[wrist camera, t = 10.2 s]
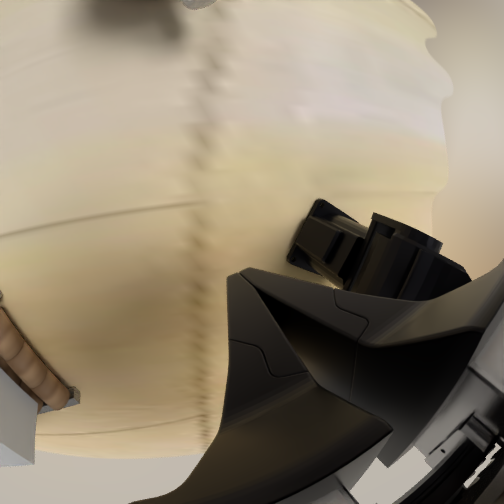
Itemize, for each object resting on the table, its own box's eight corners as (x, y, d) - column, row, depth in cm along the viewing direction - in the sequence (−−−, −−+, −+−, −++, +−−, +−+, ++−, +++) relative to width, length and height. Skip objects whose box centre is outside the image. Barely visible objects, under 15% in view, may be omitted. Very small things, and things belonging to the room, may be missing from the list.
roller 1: (-13, 313, 14) (-24, 333, 12) (5, 302, 15) (-6, 323, 12) (50, 390, 19) (48, 412, 17) (70, 384, 20) (69, 407, 18)
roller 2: (-33, 323, 13) (-44, 343, 11) (-19, 316, 14) (-31, 337, 11) (28, 396, 18) (24, 417, 16) (45, 392, 19) (41, 414, 16)
